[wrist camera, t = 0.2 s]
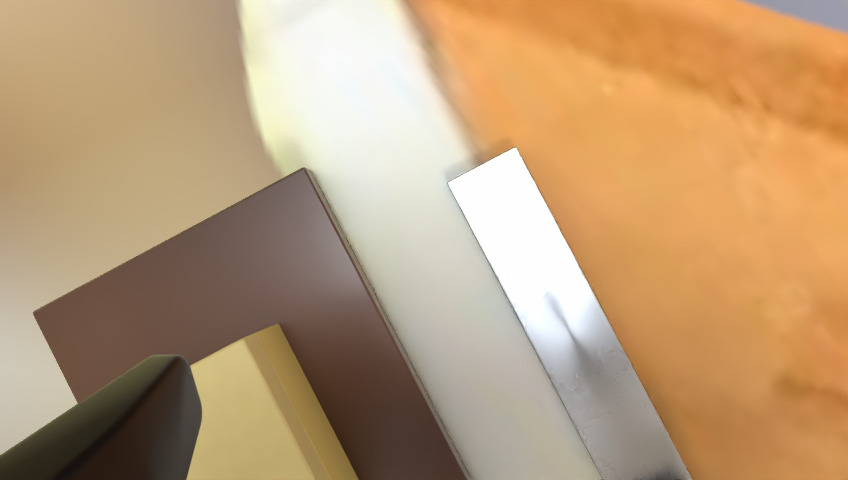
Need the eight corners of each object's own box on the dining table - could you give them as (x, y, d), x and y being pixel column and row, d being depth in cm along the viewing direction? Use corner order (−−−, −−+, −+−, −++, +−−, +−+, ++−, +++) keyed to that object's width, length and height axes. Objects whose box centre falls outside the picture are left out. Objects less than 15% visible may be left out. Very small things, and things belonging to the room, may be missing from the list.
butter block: (366, 493, 22) (354, 525, 20) (254, 550, 22) (228, 589, 20) (278, 322, 22) (256, 332, 20) (168, 380, 22) (131, 397, 20)
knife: (827, 734, 22) (871, 793, 20) (755, 769, 22) (790, 832, 20) (515, 147, 23) (521, 135, 21) (447, 183, 23) (445, 176, 21)
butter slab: (354, 525, 20) (347, 543, 18) (228, 589, 20) (213, 611, 19) (256, 332, 20) (242, 337, 19) (131, 397, 20) (110, 407, 19)
